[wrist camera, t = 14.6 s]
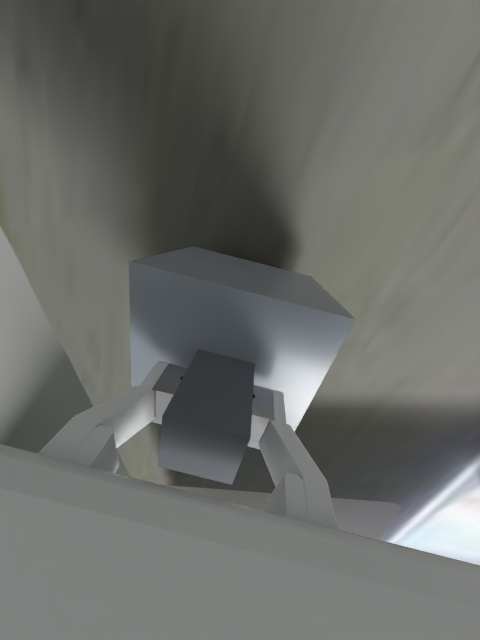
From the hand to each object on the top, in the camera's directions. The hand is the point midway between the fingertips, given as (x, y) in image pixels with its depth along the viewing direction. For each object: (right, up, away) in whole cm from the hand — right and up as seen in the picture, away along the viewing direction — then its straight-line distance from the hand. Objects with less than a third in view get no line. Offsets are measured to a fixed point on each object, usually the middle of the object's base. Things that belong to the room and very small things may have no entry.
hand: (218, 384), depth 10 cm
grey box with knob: (+1, +4, +9) cm, 10 cm away
